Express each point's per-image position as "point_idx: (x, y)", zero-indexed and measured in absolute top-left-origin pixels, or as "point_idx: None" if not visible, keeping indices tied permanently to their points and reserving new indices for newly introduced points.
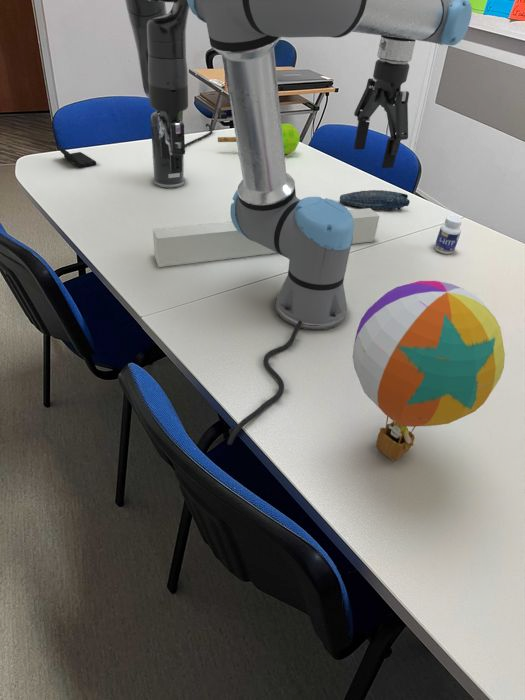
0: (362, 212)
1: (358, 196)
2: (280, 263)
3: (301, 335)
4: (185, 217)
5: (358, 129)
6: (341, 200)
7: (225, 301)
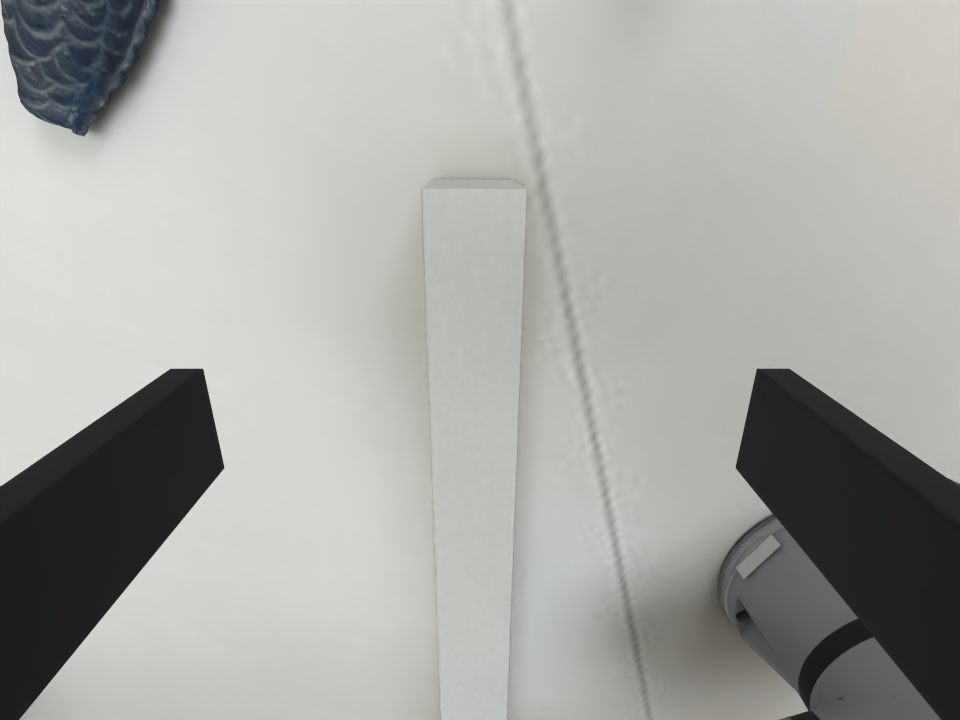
0: (468, 265)
1: (74, 30)
2: (565, 559)
3: None
4: (233, 693)
5: (73, 633)
6: (85, 130)
7: (683, 706)
